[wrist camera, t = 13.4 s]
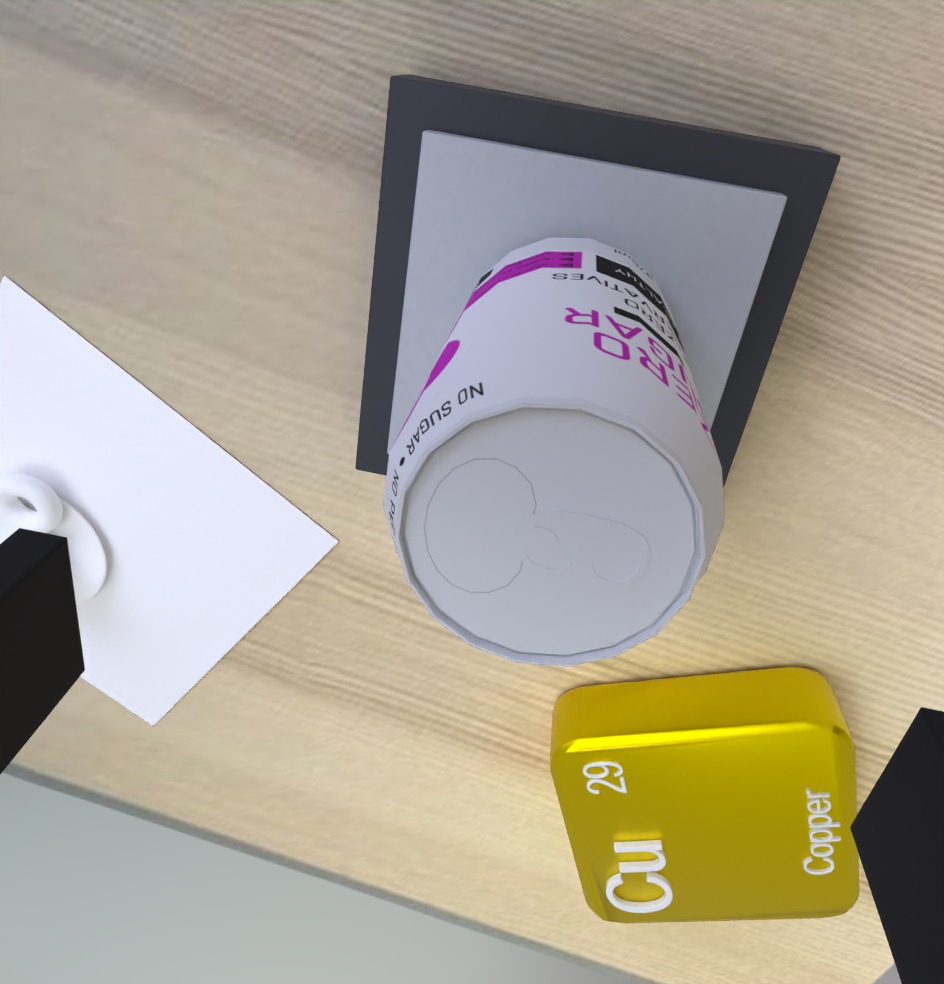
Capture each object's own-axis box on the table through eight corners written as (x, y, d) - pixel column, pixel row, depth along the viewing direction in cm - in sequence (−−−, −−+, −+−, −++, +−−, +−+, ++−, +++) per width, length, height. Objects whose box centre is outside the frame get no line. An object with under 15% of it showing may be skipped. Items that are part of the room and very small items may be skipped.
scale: (407, 74, 31) (385, 75, 27) (822, 148, 30) (851, 158, 27) (370, 442, 39) (350, 477, 35) (699, 507, 38) (710, 549, 35)
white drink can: (447, 416, 33) (355, 647, 20) (480, 212, 29) (391, 337, 16) (639, 455, 33) (672, 716, 20) (699, 255, 29) (790, 417, 16)
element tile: (840, 852, 48) (864, 929, 43) (591, 863, 51) (591, 935, 47) (831, 658, 41) (858, 726, 37) (545, 686, 44) (541, 751, 40)
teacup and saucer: (15, 442, 41) (-39, 478, 38) (143, 537, 43) (103, 580, 40) (-48, 541, 45) (-103, 582, 41) (72, 624, 47) (29, 670, 43)
